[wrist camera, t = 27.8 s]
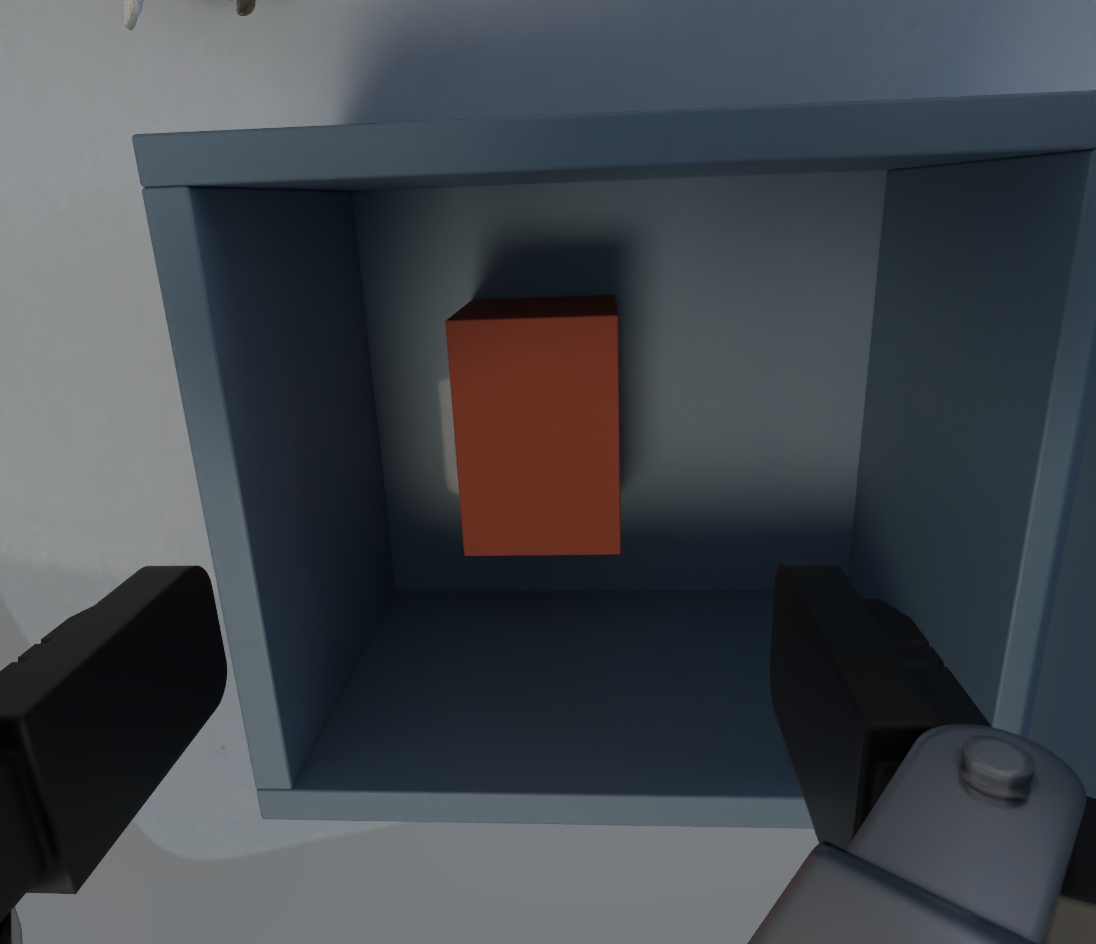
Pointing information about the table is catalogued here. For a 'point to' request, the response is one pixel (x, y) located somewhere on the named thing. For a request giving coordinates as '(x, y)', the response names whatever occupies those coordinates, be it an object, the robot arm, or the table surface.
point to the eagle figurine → (135, 3)
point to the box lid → (1073, 636)
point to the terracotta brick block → (537, 424)
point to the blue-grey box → (624, 432)
